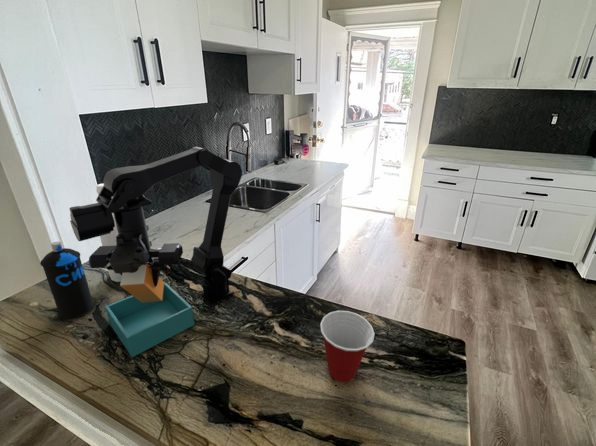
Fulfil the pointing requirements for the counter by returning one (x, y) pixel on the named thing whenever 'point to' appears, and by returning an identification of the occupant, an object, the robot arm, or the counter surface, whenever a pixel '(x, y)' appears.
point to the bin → (149, 320)
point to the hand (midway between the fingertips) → (144, 286)
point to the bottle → (110, 240)
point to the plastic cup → (345, 342)
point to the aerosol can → (67, 282)
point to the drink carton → (143, 285)
